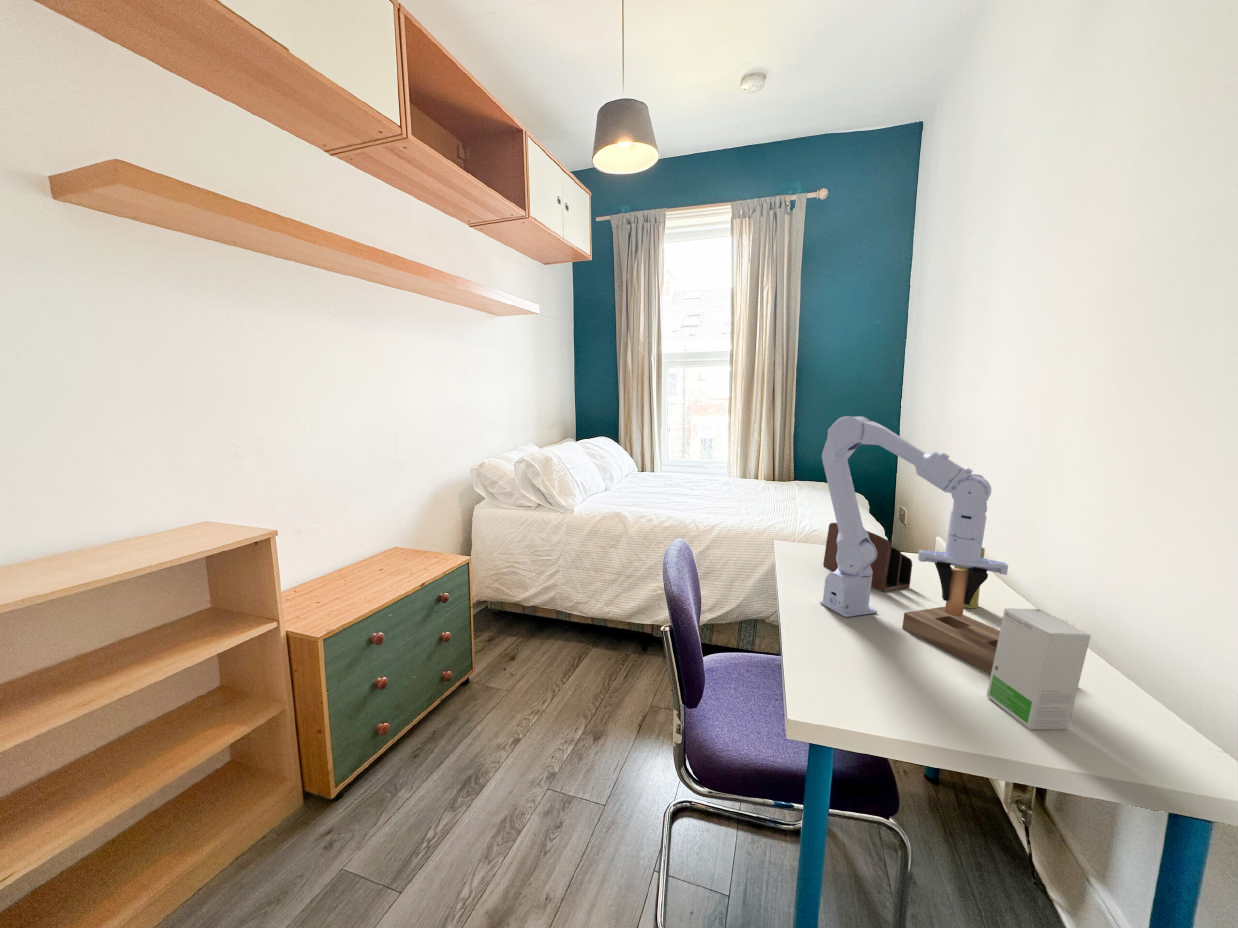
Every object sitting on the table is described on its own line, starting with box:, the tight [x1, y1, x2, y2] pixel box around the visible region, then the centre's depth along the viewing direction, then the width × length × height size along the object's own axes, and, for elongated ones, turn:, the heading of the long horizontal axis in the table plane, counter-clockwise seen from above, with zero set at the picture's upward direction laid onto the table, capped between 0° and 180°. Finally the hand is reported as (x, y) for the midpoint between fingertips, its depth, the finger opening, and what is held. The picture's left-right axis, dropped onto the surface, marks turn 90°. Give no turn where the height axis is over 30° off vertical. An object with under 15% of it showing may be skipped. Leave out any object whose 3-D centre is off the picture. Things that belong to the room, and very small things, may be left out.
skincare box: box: [986, 607, 1092, 731], centre depth 74 cm, size 8×7×16 cm
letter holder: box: [823, 522, 913, 593], centre depth 132 cm, size 10×20×14 cm, turn 23°
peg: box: [944, 567, 969, 617], centre depth 98 cm, size 3×3×9 cm
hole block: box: [901, 606, 1000, 675], centre depth 94 cm, size 12×22×4 cm, turn 20°
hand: (955, 600), depth 98 cm, fingers closed on peg, 3 cm apart
